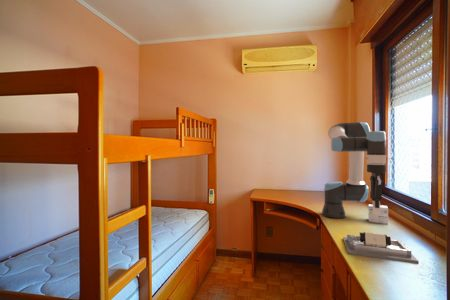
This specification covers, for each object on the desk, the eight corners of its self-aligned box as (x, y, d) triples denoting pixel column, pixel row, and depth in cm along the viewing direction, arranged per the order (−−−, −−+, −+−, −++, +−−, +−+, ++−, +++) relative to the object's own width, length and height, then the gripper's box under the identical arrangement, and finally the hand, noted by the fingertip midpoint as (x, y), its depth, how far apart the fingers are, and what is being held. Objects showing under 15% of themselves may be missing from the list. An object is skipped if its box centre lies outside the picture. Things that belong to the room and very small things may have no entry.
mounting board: (342, 238, 124) (342, 237, 124) (402, 245, 115) (402, 243, 115) (348, 253, 106) (348, 251, 106) (418, 263, 97) (418, 261, 97)
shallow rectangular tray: (346, 239, 121) (346, 234, 121) (401, 245, 113) (401, 240, 112) (350, 249, 109) (350, 243, 109) (411, 257, 101) (411, 251, 101)
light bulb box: (387, 222, 153) (387, 205, 153) (388, 225, 147) (388, 207, 147) (368, 219, 158) (368, 203, 158) (368, 222, 152) (368, 205, 152)
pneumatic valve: (358, 232, 117) (360, 231, 107) (387, 235, 112) (391, 235, 102) (359, 244, 116) (360, 244, 106) (388, 248, 111) (392, 248, 100)
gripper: (364, 163, 118) (364, 210, 118) (370, 164, 106) (370, 217, 106) (381, 163, 115) (381, 211, 115) (389, 165, 103) (390, 218, 103)
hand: (376, 214), depth 110 cm, fingers closed
